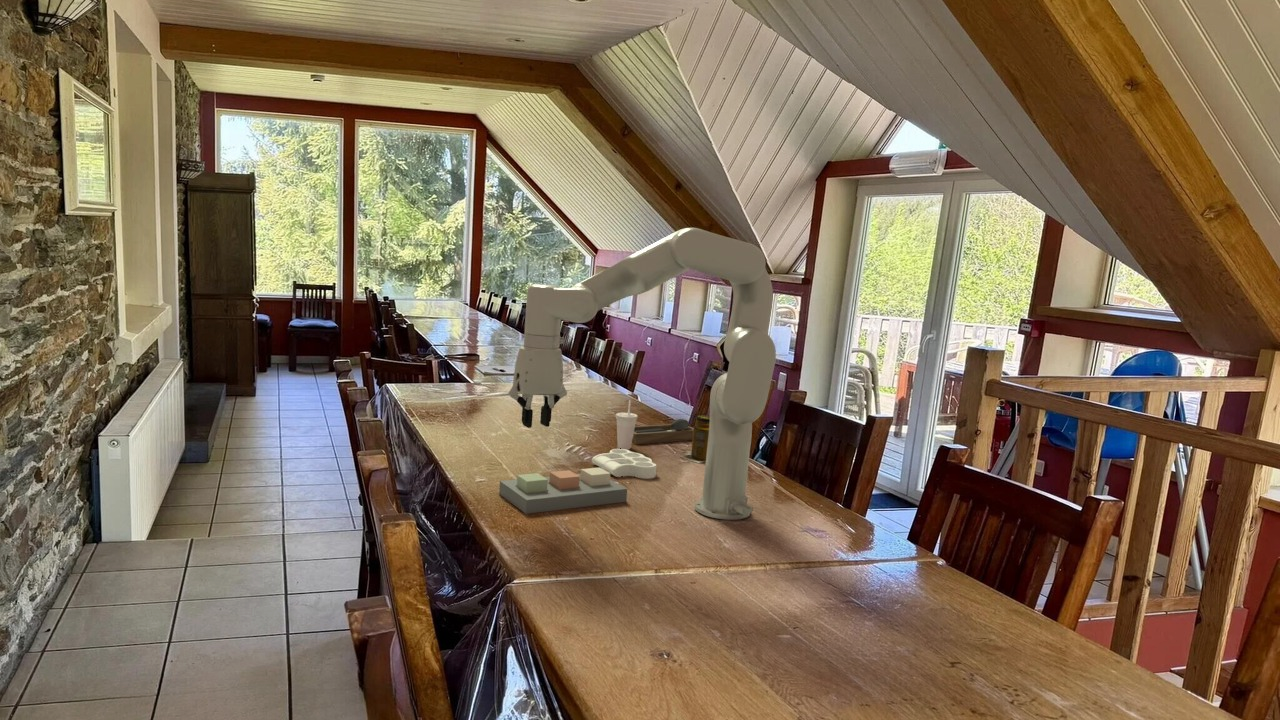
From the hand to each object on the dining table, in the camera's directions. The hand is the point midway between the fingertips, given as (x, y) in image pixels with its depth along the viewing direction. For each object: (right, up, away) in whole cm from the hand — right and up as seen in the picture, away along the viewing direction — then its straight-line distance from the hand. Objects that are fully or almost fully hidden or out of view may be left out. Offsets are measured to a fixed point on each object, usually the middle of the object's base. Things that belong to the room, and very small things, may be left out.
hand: (536, 425), depth 175 cm
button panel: (+5, -17, +7) cm, 19 cm away
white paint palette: (+19, -15, +35) cm, 42 cm away
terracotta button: (+5, -16, +7) cm, 18 cm away
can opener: (+29, -10, +71) cm, 77 cm away
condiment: (+39, -14, +52) cm, 66 cm away
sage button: (-1, -16, +2) cm, 16 cm away
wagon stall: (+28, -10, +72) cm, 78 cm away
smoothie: (+18, -11, +57) cm, 60 cm away
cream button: (+12, -15, +11) cm, 22 cm away
